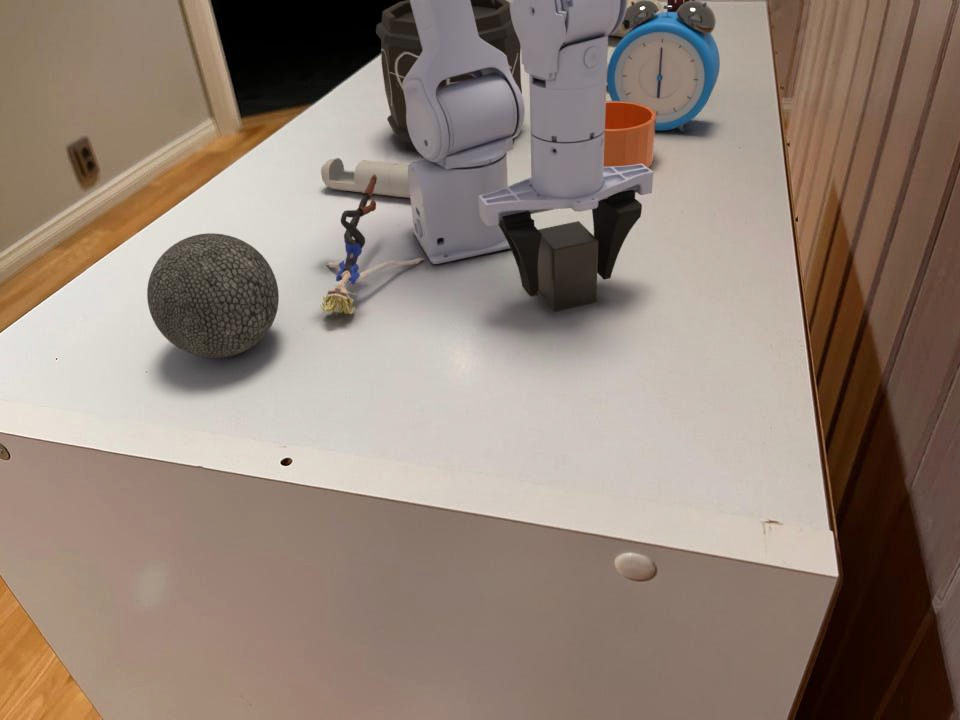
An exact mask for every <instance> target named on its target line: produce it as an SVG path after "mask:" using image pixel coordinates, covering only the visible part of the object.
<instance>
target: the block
mask: <svg viewBox="0 0 960 720" xmlns="http://www.w3.org/2000/svg"><path fill="white" fill-rule="evenodd" d="M538 230H539V231H540V233H541V234H542V237H541V242H540V247H539V255H538V281H539V289H538V293H539V294H540V295H541V296H542V298H544V300H545V302H546V303H547V304H548V306H549V307H550V308H551V309H552V311H554V312H558V311H563V310H566V309H570V308H576V307H579V306H583V305H588V304H592V303H596V302H597V294H598V273H597V267H598V240H597V239H596V238H595V237H594V234H592V232H590V231H589V229H587V228H586V227H585V226H584V225H583V224H582V223H581V221H579V220H577V221H572V222H567V223H562V224H559V225H554V226H553V225H552V226H549V227H543V228H539V229H538Z"/></svg>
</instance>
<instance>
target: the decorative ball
mask: <svg viewBox="0 0 960 720" xmlns="http://www.w3.org/2000/svg"><path fill="white" fill-rule="evenodd" d="M146 290H147V291H146V296H147V297H146V298H147V306H148V310H149V313H150V316H151V318H152V320H153V323H154V324H155V325H154V326H156V328H157V330H158V331H159V332H160V333H161V335H162V337H164V338H165V339H166V340H167V341H168V342H169V343H171V344H172V345H173V346H175V347H176V348H178V349H179V350H181V351H183V352H185V353H187V354H190V355H193V356H196V357H200V358H208V359H222V358H229V357H234V356H236V355H239V354H242V353H244V352H246V351H247V350H249V349H251V348H252V347H254V346H255V345H257V344H258V343H260V341H261V340H263V338H264V337H265V336H266V335H267V333H269V331H270V329H271V328H272V325H273V323H274V322H275V319H276V316H277V313H278V309H279V300H280V299H279V298H280V297H279V296H280V294H279V286H278V282H277V279H276V276H275V273H274V271H273V269H272V267H271V265H270V263H269V262H268V260H267V259H266V258H265V257H264V256H263V254H262V253H261V252H259V251H258V250H257V249H256V248H255V247H254V246H252V245H251V244H249V243H248V242H246V241H244V240H242V239H240V238H237V237H235V236H232V235H229V234H223V233H215V232H211V233H209V232H208V233H199V234H195V235H191V236H188V237H185V238H183V239H180V240H179V241H178V242H176V243H174V244H173V245H172V246H170V247H168V249H166V250H165V251H164V252H163V253H162V254H161V256H160V257H159V258H158V259H157V261H156V262H155V264H154V266H153V268H152V270H151V272H150V275H149V279H148V282H147V289H146Z"/></svg>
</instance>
